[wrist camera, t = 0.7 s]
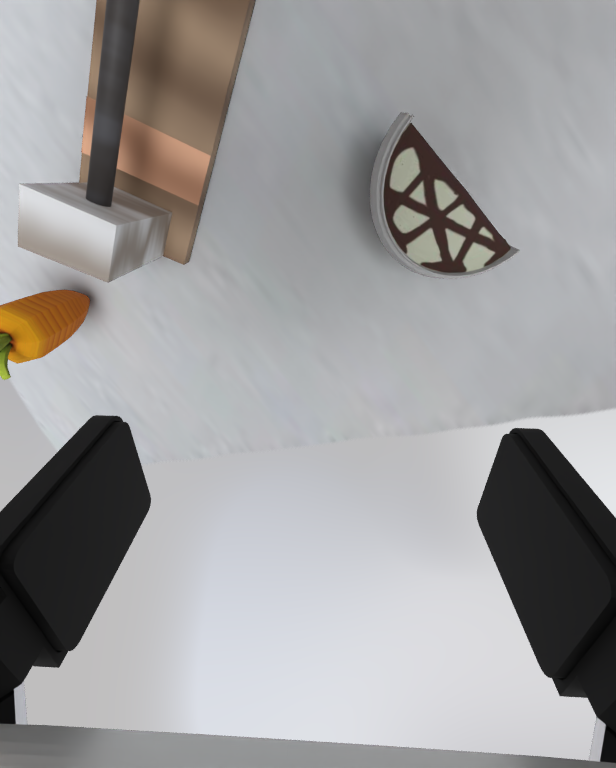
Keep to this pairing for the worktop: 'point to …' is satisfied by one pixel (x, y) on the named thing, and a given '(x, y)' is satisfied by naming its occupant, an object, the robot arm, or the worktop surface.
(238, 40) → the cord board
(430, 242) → the food container
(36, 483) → the robot arm
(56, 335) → the carrot
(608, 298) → the worktop surface
